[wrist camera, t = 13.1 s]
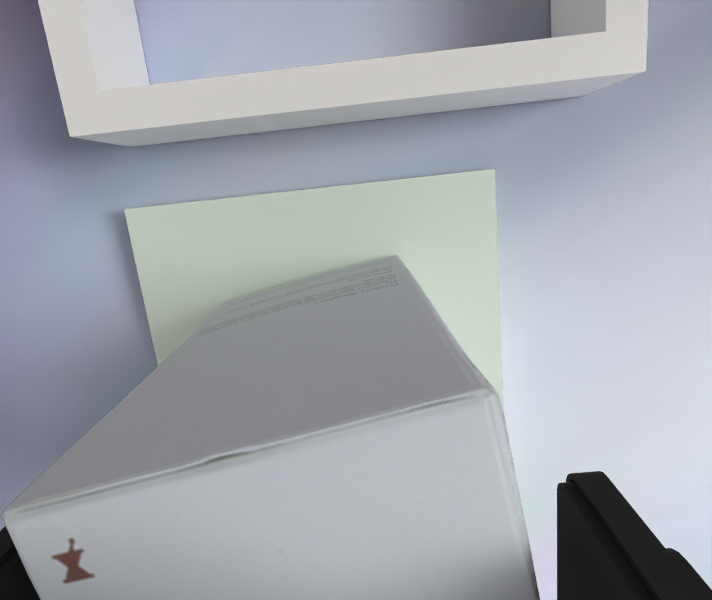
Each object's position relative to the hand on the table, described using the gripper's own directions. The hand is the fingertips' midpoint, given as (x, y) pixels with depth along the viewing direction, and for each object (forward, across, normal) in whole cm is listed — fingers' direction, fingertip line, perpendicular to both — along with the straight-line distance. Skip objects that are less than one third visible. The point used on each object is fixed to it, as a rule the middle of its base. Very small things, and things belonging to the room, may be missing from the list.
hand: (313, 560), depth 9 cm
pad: (+12, +1, 0) cm, 12 cm away
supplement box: (+11, 0, 0) cm, 11 cm away
